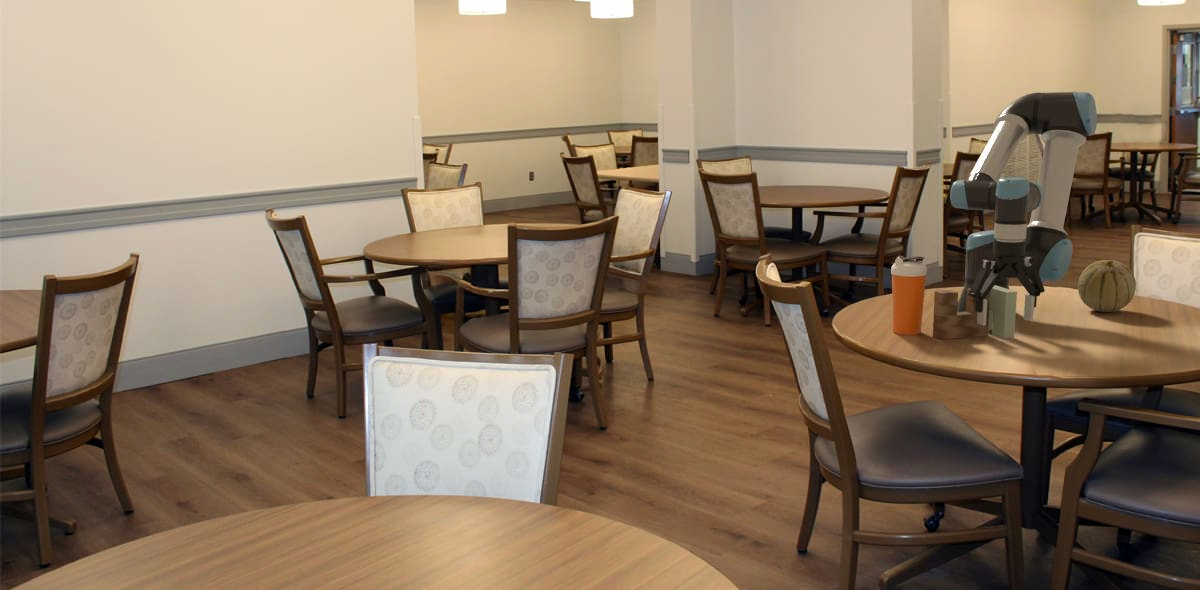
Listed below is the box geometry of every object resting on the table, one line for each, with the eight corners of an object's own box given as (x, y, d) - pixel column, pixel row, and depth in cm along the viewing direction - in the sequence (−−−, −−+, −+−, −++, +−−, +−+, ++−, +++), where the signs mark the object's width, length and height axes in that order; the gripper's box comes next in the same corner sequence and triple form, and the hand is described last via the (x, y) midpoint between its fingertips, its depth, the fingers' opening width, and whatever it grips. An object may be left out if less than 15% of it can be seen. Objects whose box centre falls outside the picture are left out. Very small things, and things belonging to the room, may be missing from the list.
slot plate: (971, 326, 269) (973, 282, 267) (981, 325, 270) (983, 281, 267) (1003, 338, 256) (1006, 292, 253) (1014, 337, 256) (1016, 291, 254)
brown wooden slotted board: (981, 332, 263) (983, 287, 260) (987, 335, 260) (990, 289, 257) (932, 336, 259) (934, 291, 257) (939, 339, 257) (941, 293, 254)
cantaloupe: (1116, 305, 290) (1120, 253, 287) (1145, 316, 276) (1149, 262, 273) (1065, 306, 290) (1069, 255, 287) (1091, 318, 275) (1095, 264, 272)
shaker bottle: (926, 336, 260) (929, 259, 256) (890, 335, 262) (893, 259, 258) (922, 328, 269) (925, 254, 265) (887, 327, 271) (890, 254, 267)
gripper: (1043, 235, 259) (1038, 315, 264) (956, 240, 254) (952, 322, 258) (1062, 239, 252) (1057, 321, 256) (974, 244, 247) (970, 329, 251)
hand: (1005, 322), depth 257 cm, fingers open, 13 cm apart
